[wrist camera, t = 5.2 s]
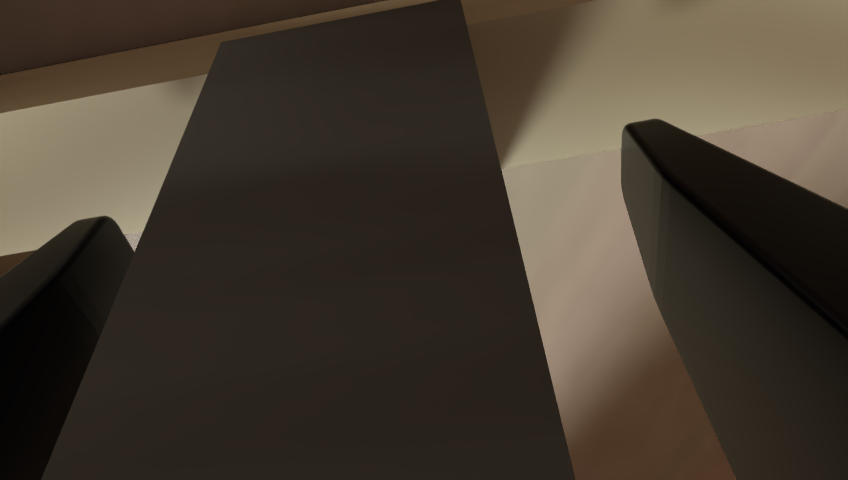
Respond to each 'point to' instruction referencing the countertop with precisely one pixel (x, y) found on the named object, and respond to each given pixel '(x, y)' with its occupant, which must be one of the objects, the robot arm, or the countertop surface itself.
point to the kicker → (360, 219)
